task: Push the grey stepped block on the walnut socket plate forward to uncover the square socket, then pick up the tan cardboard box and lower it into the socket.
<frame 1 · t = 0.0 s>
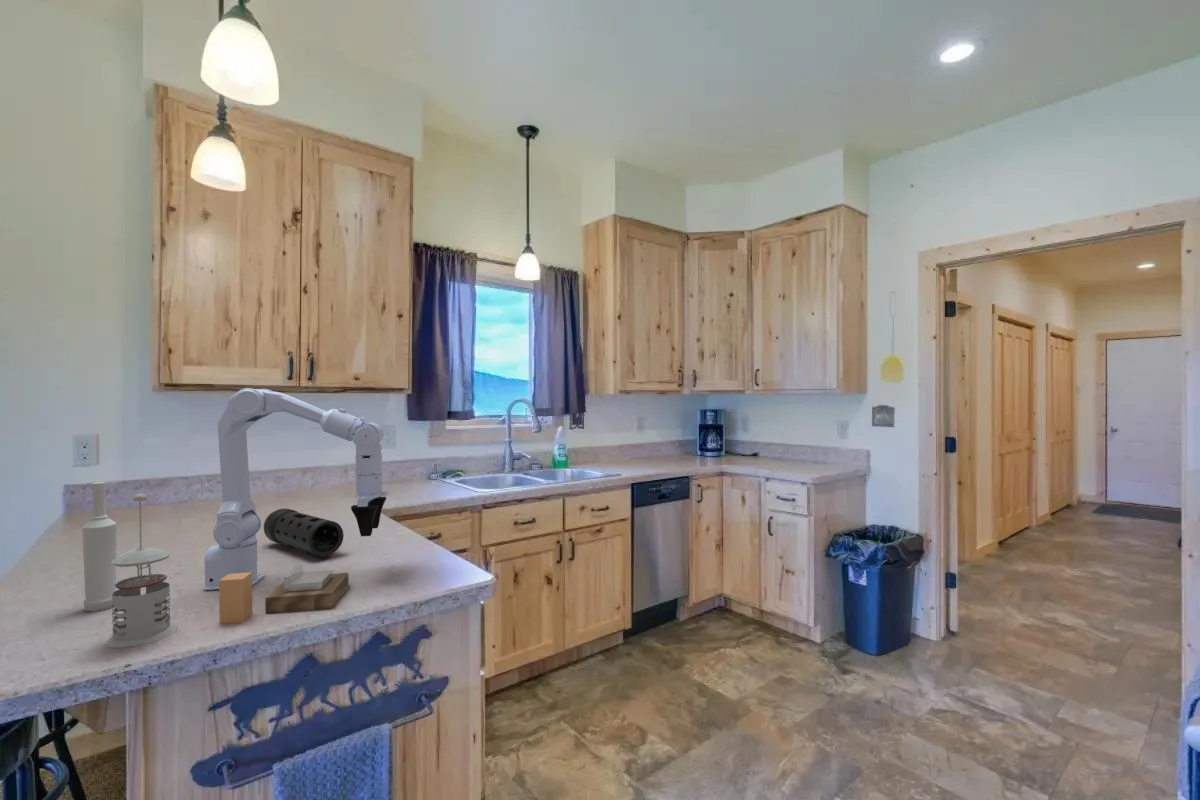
hand: (369, 531, 132), 10 cm above the counter, tool pointing down, fingers open, 7 cm apart
muzzle brake: (301, 552, 153), on the counter
socket plate: (309, 599, 116), on the counter
tan cardboard box: (236, 618, 106), on the counter
bottle: (101, 608, 113), on the counter
grey stepped block: (309, 576, 116), point 5 cm above the counter, slide at 0.0 cm
french press: (142, 634, 100), on the counter
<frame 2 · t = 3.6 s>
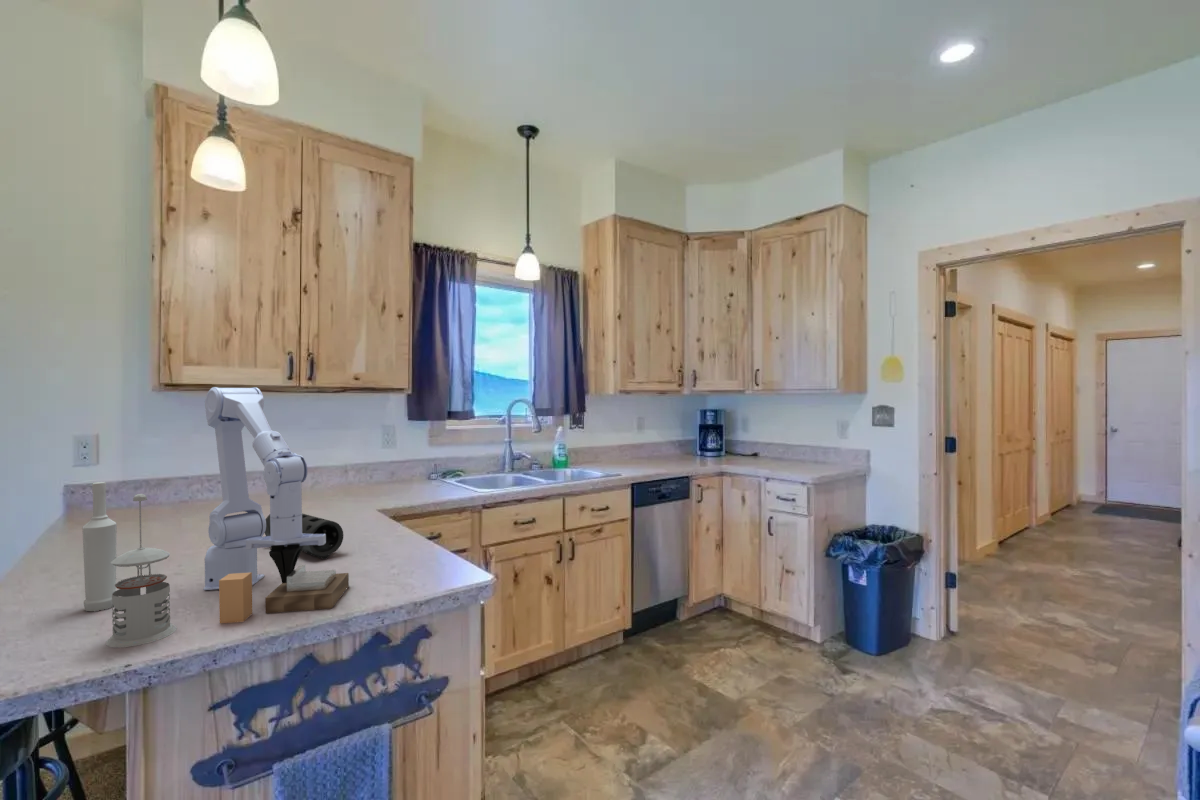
hand: (287, 581, 115), 4 cm above the counter, tool pointing down, fingers closed
grey stepped block: (312, 576, 116), point 5 cm above the counter, slide at 0.5 cm, touching gripper
everything else where it was.
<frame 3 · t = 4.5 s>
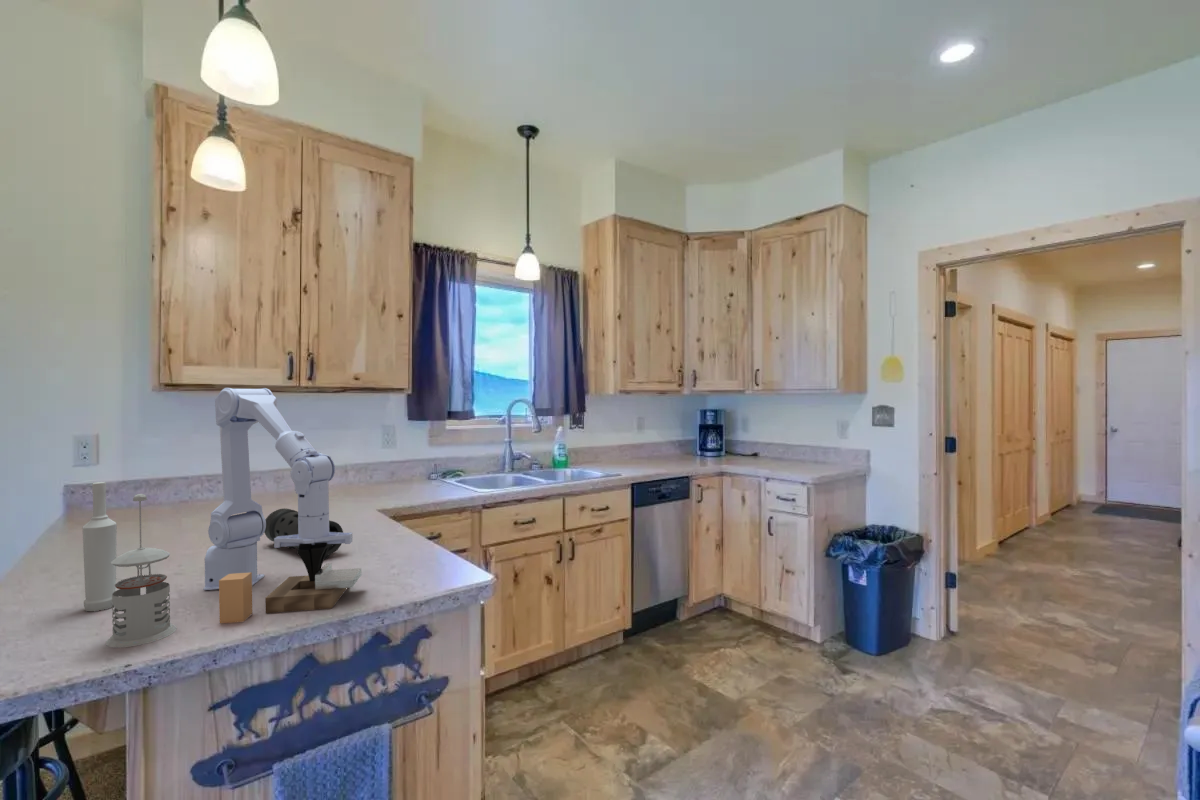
hand: (314, 579, 116), 4 cm above the counter, tool pointing down, fingers closed
grey stepped block: (339, 574, 117), point 5 cm above the counter, slide at 5.8 cm, touching gripper
everything else where it was.
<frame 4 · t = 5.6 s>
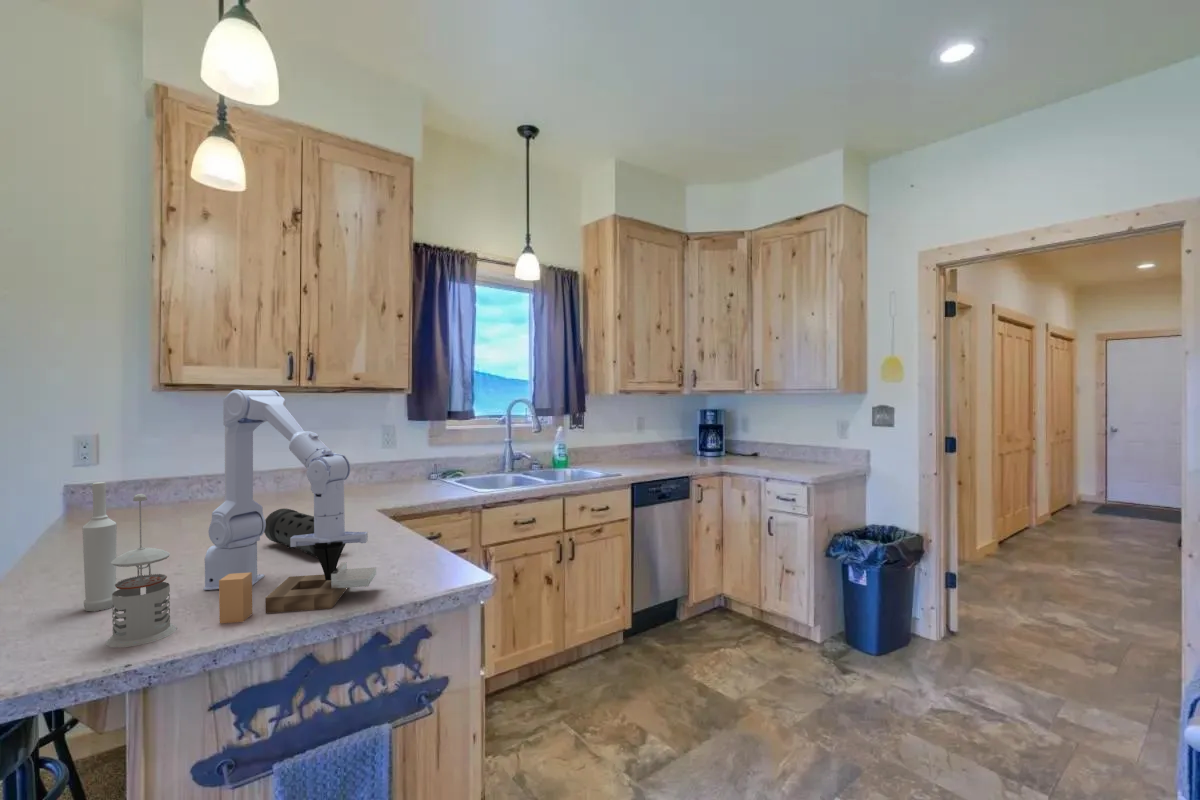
hand: (330, 578, 117), 4 cm above the counter, tool pointing down, fingers closed
grey stepped block: (354, 573, 118), point 5 cm above the counter, slide at 8.8 cm, touching gripper
everything else where it was.
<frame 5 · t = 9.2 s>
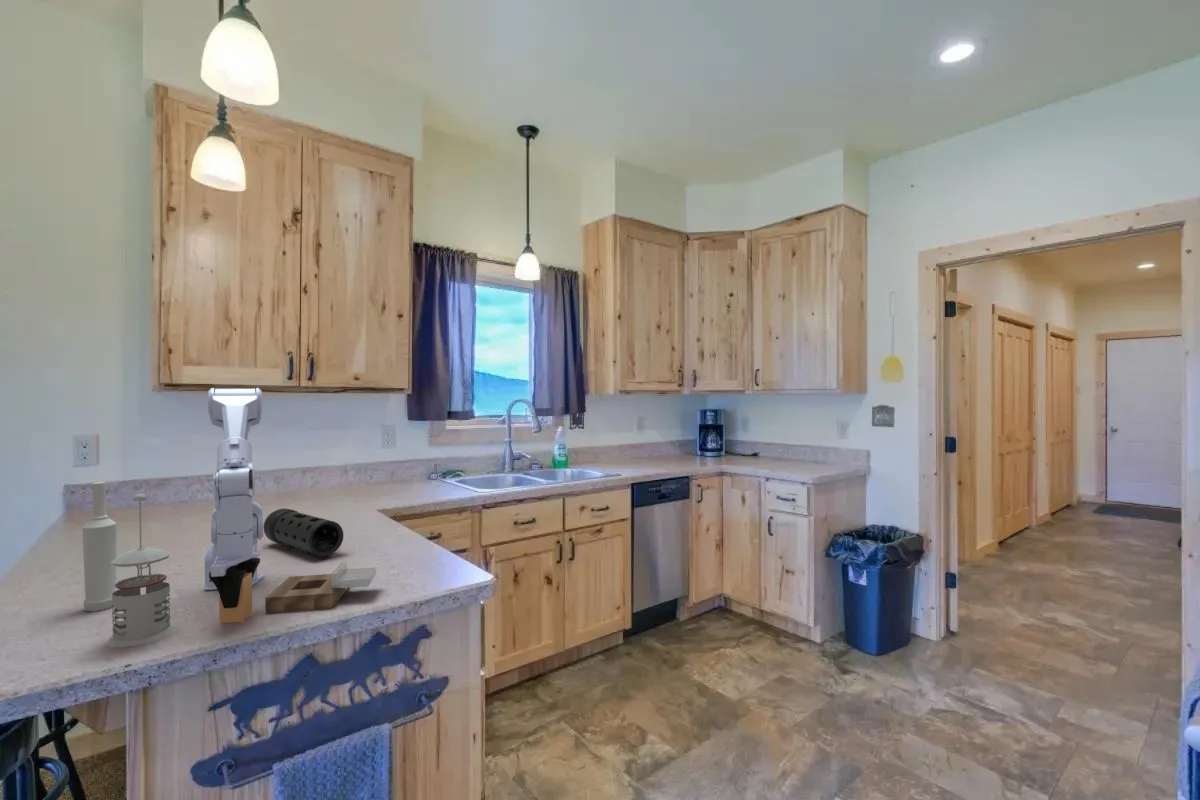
hand: (236, 602, 106), 3 cm above the counter, tool pointing down, fingers closed on tan cardboard box, 4 cm apart
tan cardboard box: (236, 618, 106), on the counter, touching gripper
grey stepped block: (354, 573, 118), point 5 cm above the counter, slide at 8.8 cm
everything else where it was.
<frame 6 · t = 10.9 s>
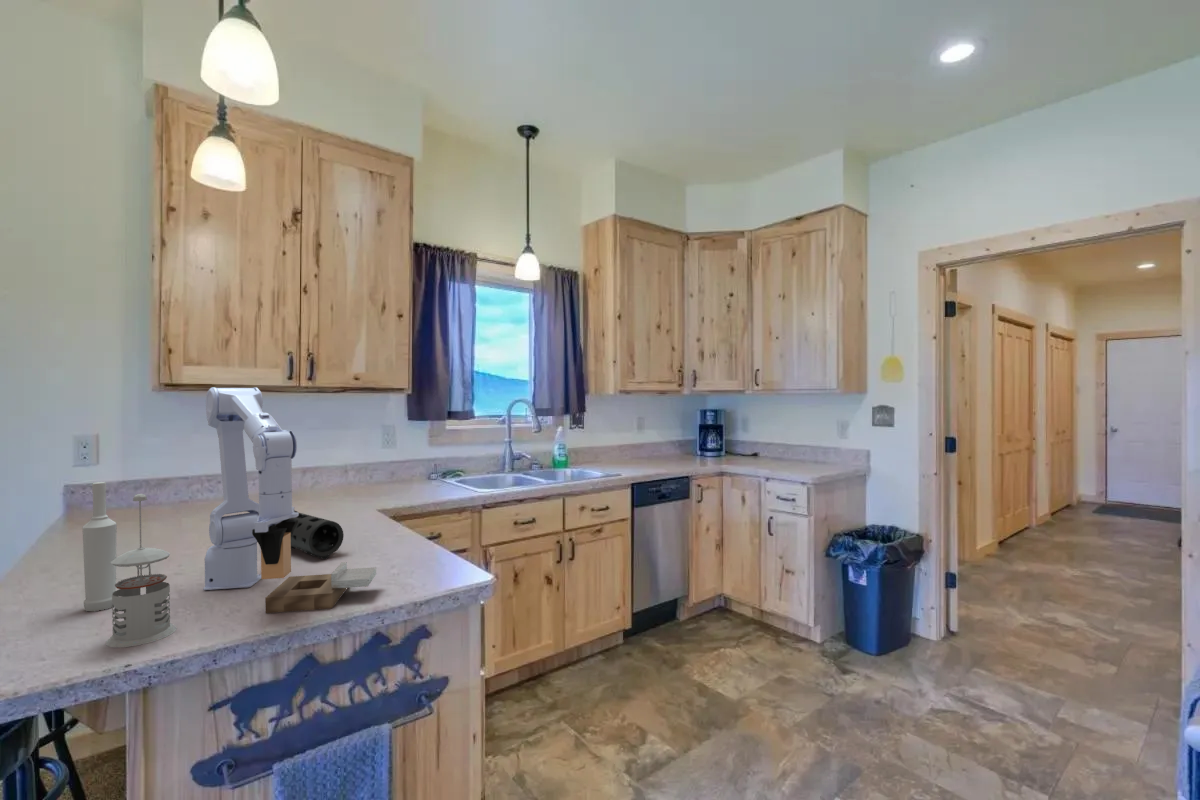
hand: (276, 560, 112), 9 cm above the counter, tool pointing down, fingers closed on tan cardboard box, 4 cm apart
tan cardboard box: (276, 575, 112), point 6 cm above the counter, touching gripper
everything else where it was.
when the fingers open (4 cm above the counter, at t = 12.9 s): tan cardboard box drops 1 cm, resting in socket plate.
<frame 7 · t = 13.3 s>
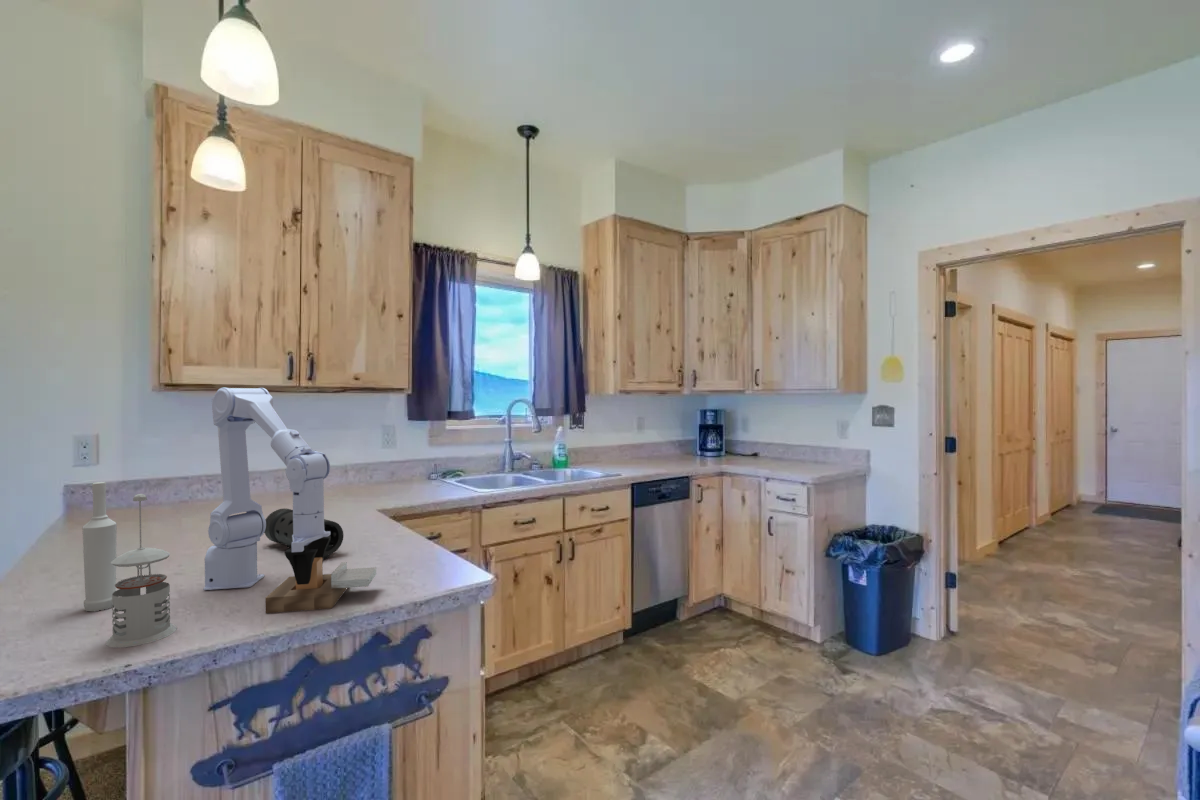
hand: (309, 577, 116), 4 cm above the counter, tool pointing down, fingers open, 7 cm apart
tan cardboard box: (309, 599, 116), resting in socket plate
everything else where it was.
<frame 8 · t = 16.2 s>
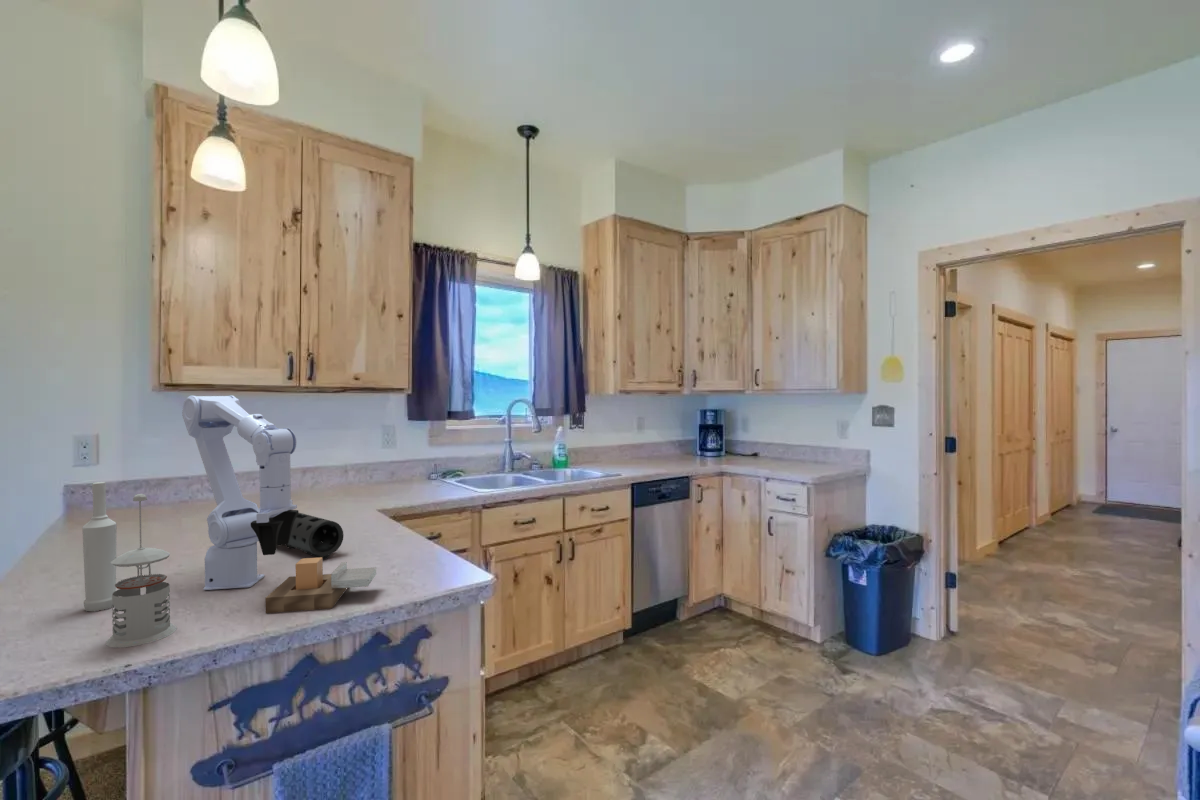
hand: (276, 549, 120), 9 cm above the counter, tool pointing down, fingers open, 7 cm apart
nothing on the counter moved.
at the end: grey stepped block slide at 8.8 cm; tan cardboard box 0.0 cm off-centre on the socket plate, point 0.0 cm above the socket plate's base; tan cardboard box tilted 0° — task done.
